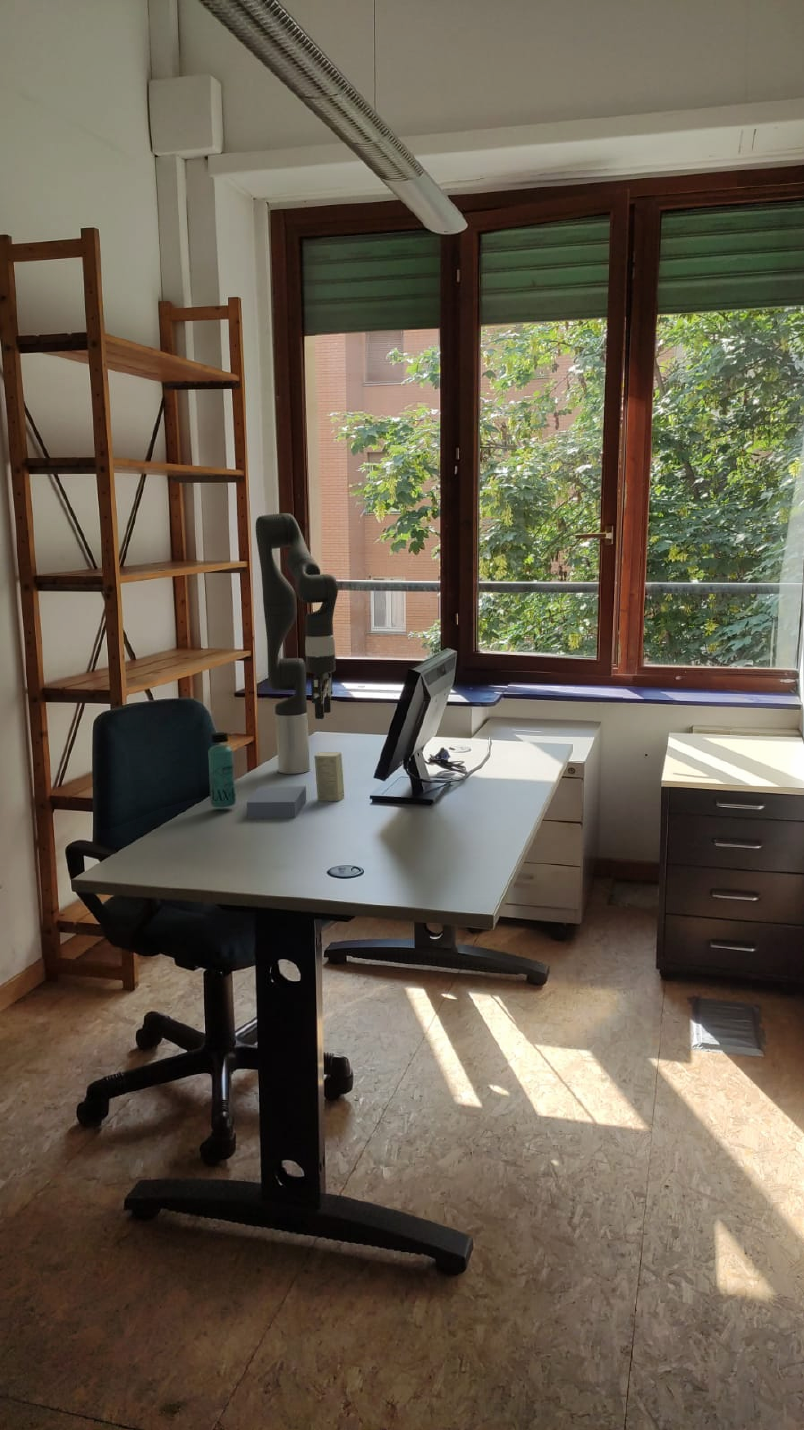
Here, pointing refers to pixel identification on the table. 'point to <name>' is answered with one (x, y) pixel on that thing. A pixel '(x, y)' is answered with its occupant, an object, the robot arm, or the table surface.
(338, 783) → the skincare box
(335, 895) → the table surface
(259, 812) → the flat grey slab
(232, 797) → the beverage bottle
